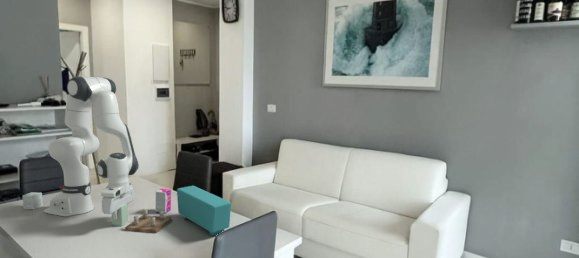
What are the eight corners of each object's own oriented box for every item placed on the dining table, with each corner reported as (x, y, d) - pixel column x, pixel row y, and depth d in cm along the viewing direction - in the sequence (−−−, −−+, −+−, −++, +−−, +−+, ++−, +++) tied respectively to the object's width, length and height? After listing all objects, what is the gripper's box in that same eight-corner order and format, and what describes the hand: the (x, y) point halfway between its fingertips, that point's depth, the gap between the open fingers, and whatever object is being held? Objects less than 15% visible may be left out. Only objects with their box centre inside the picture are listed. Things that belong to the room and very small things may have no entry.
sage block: (112, 225, 164) (111, 206, 163) (118, 221, 169) (117, 203, 168) (121, 226, 164) (121, 207, 162) (128, 221, 169) (127, 203, 167)
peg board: (125, 230, 159) (124, 218, 159) (142, 218, 174) (142, 207, 173) (156, 233, 158) (156, 221, 157) (171, 220, 172) (171, 209, 172)
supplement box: (165, 213, 180) (165, 192, 179) (155, 212, 181) (154, 191, 180) (171, 210, 186) (171, 189, 184) (161, 208, 187) (161, 188, 186)
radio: (233, 233, 160) (233, 201, 158) (213, 240, 153) (213, 206, 151) (195, 212, 184) (195, 184, 182) (176, 217, 177) (176, 188, 175)
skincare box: (43, 205, 187) (42, 192, 186) (33, 209, 181) (32, 196, 180) (32, 205, 187) (31, 191, 186) (23, 209, 181) (22, 195, 180)
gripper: (125, 181, 175) (126, 208, 177) (98, 194, 155) (99, 223, 156) (137, 182, 174) (138, 209, 176) (111, 195, 154) (112, 225, 156)
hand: (119, 216), depth 166 cm, fingers closed on sage block, 5 cm apart
